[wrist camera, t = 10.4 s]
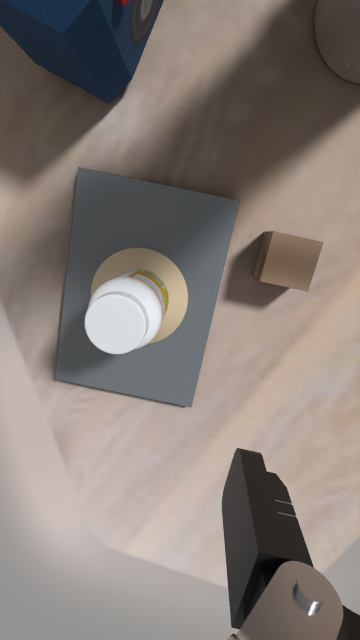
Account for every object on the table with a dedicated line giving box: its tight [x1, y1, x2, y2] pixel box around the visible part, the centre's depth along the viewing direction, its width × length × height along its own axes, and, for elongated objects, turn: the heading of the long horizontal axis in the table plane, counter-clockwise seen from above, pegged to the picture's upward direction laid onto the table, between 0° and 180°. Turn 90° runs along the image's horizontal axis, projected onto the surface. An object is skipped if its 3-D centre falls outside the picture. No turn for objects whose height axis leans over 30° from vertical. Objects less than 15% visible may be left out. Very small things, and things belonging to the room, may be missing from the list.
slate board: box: [55, 167, 239, 407], centre depth 31 cm, size 20×14×1 cm
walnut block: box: [252, 231, 323, 292], centre depth 28 cm, size 4×4×4 cm
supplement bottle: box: [85, 269, 169, 354], centre depth 26 cm, size 5×5×10 cm
